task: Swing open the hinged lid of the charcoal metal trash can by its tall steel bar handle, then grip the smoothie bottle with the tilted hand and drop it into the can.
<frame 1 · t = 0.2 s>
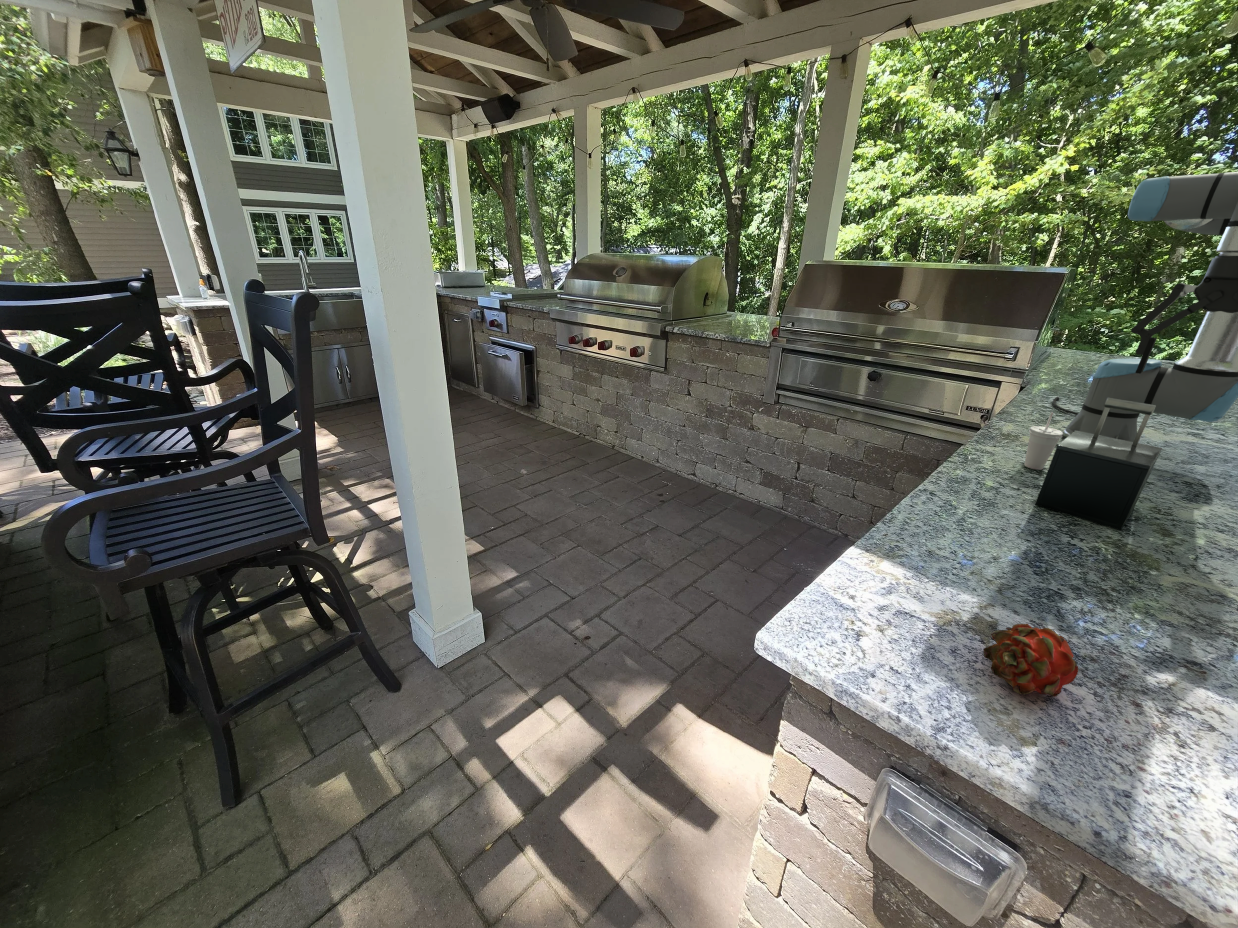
hand: (1189, 379, 92), 28 cm above the counter, tool pointing down, fingers open, 13 cm apart
smoothie: (1033, 467, 125), on the counter
trash can: (1083, 506, 105), on the counter
trash lid: (1117, 428, 99), point 18 cm above the counter, hinge at 0.0°
dragon fruit: (1020, 679, 63), on the counter
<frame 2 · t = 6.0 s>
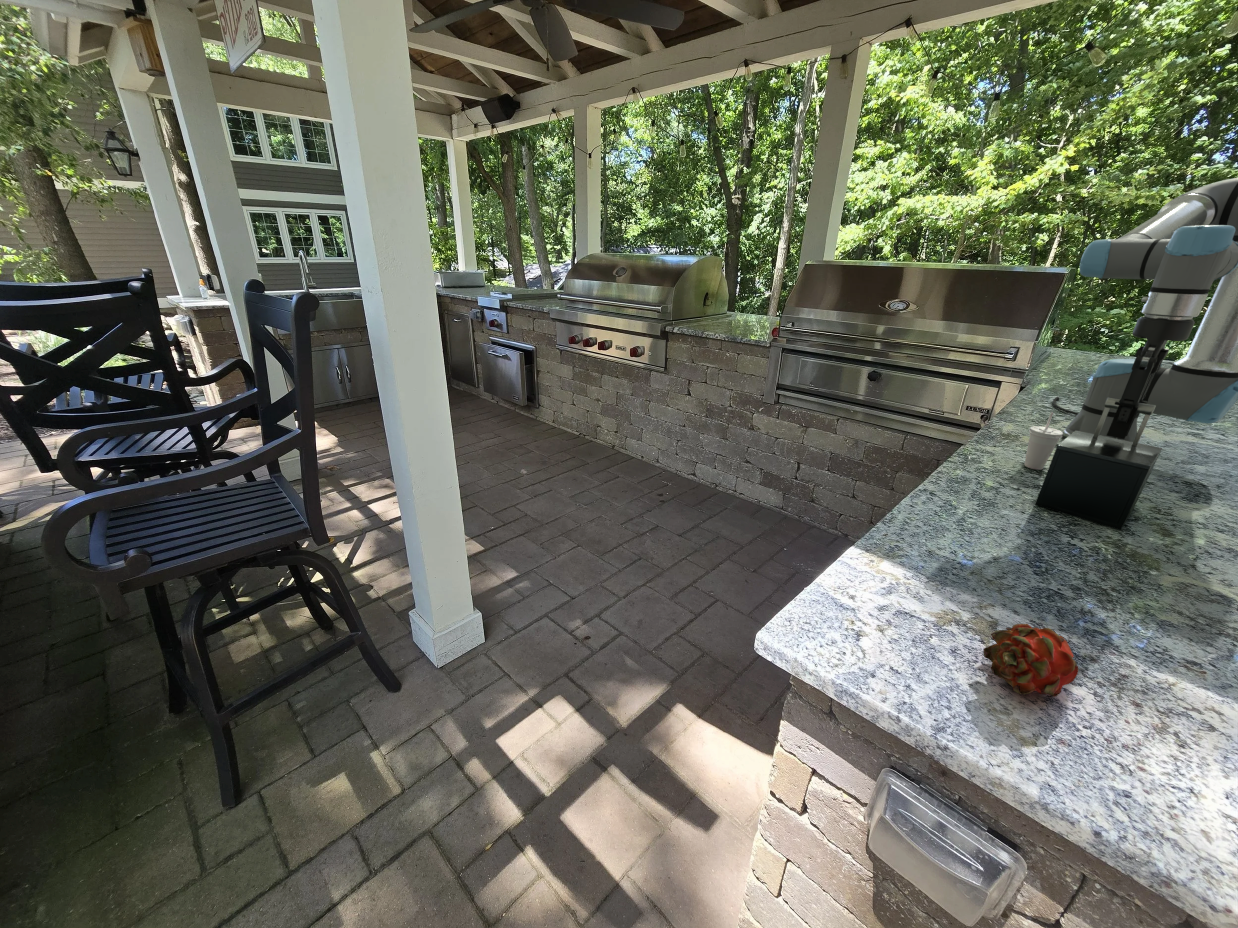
hand: (1116, 435, 102), 15 cm above the counter, tool pointing down, fingers closed on trash lid, 2 cm apart
trash lid: (1117, 428, 99), point 17 cm above the counter, hinge at 0.0°, touching gripper
everything else where it was.
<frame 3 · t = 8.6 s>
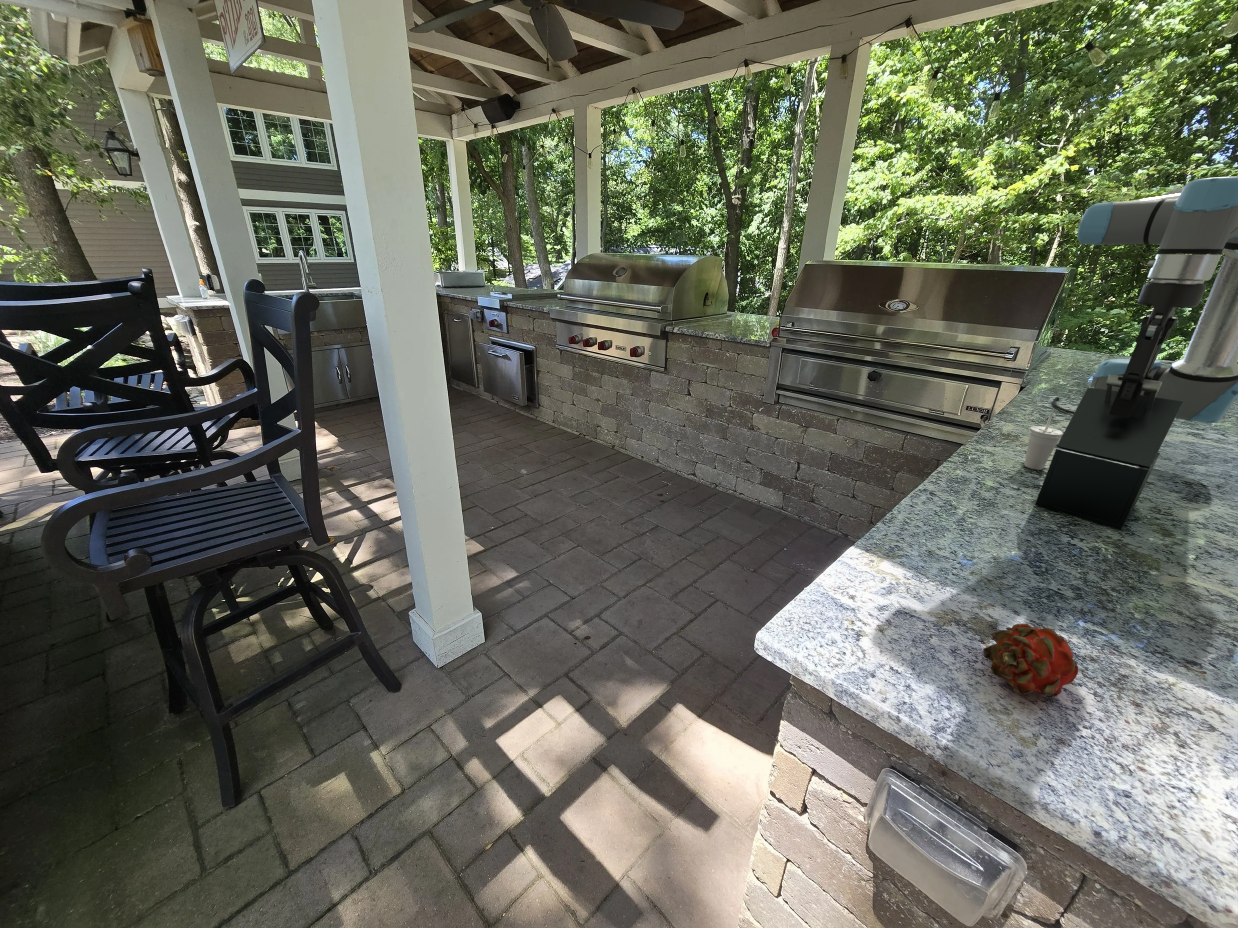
hand: (1120, 414, 94), 21 cm above the counter, tool pointing down, fingers closed on trash lid, 2 cm apart
trash lid: (1119, 414, 94), point 21 cm above the counter, hinge at 48.0°, touching gripper
everything else where it was.
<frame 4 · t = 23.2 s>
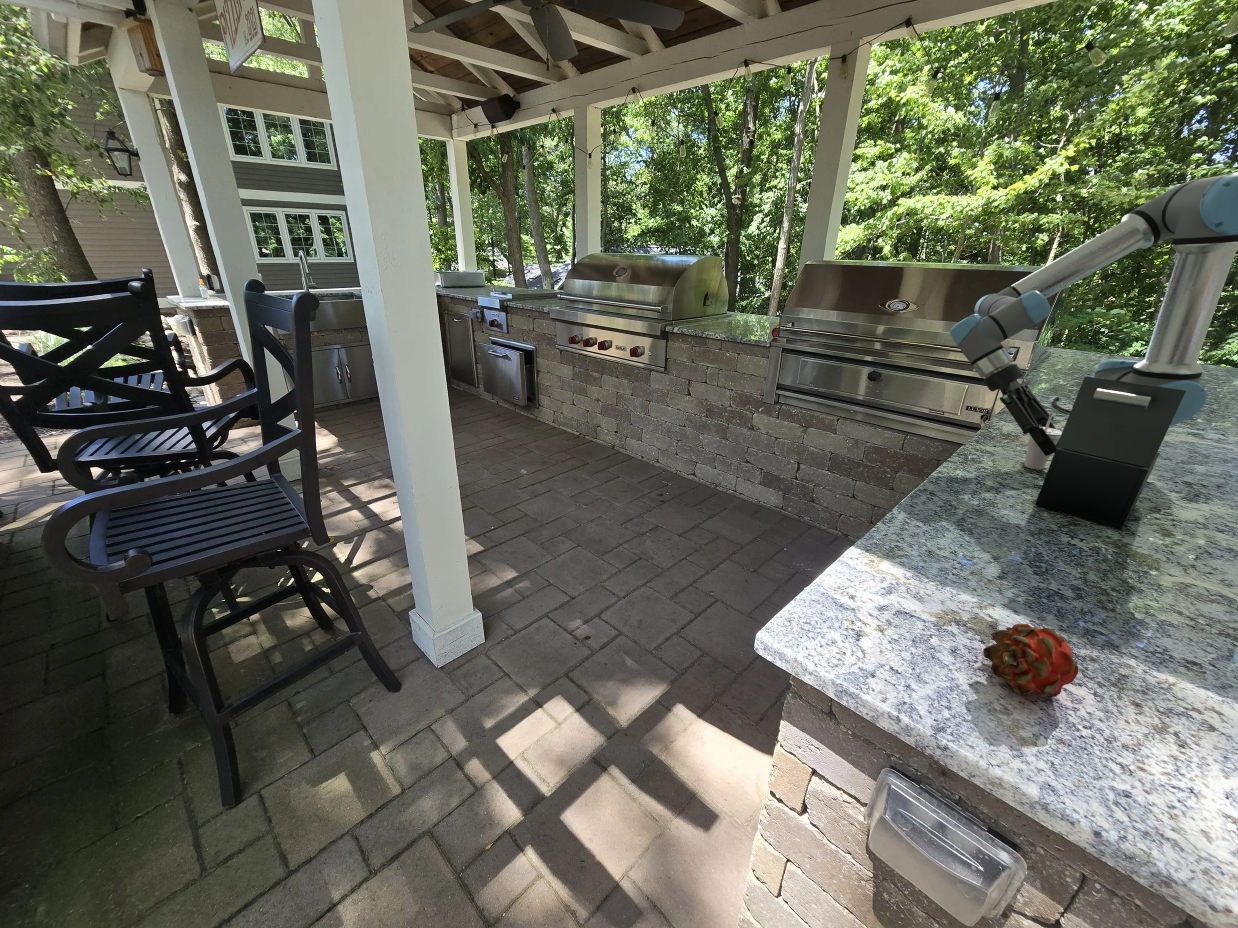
hand: (1056, 449, 120), 6 cm above the counter, tool tilted 45°, fingers closed on smoothie, 6 cm apart
smoothie: (1033, 467, 125), on the counter, touching gripper
trash lid: (1113, 422, 91), point 21 cm above the counter, hinge at 82.8°
everything else where it was.
when the fingers open (16 cm above the counter, at t = 32.2 s): smoothie drops 10 cm, resting on trash can.
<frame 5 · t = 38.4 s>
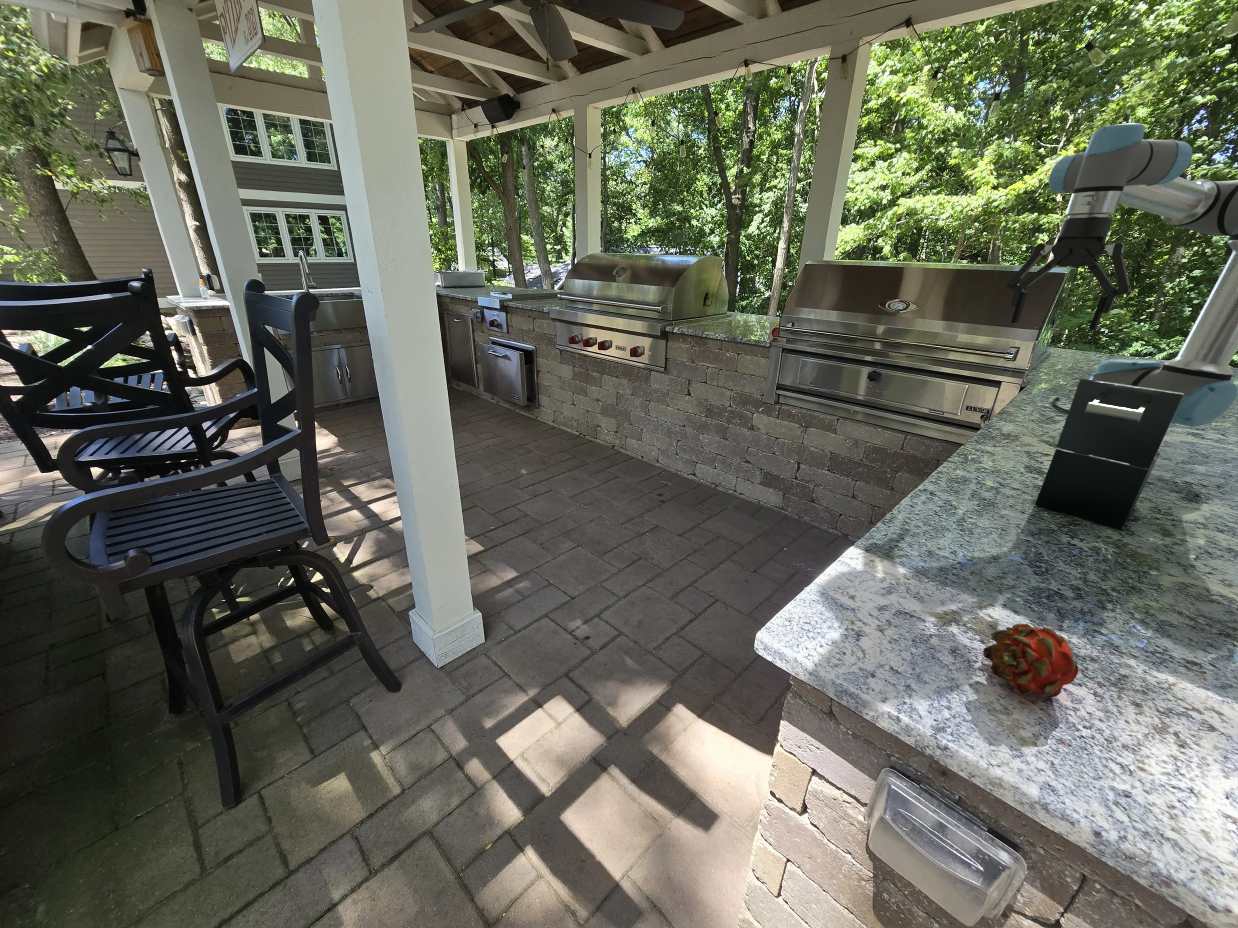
hand: (1051, 325, 108), 35 cm above the counter, tool pointing down, fingers open, 13 cm apart
smoothie: (1090, 501, 106), point 1 cm above the counter, touching trash can
trash lid: (1108, 430, 90), point 20 cm above the counter, hinge at 96.9°
everything else where it was.
at the end: trash lid at +97° (first picture: +0°); smoothie inside the target area in the trash can (2.5 cm from its centre), point 0.6 cm above the trash can's base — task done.
